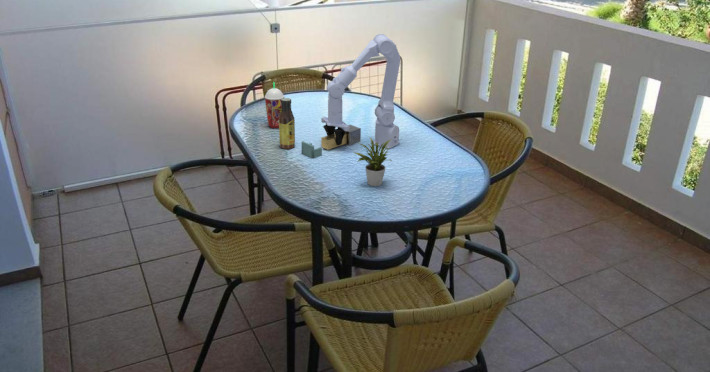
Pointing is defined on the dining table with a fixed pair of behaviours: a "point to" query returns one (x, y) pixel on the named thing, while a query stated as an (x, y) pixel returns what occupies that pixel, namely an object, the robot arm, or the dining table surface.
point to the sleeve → (354, 135)
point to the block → (332, 141)
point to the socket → (310, 150)
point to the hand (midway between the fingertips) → (335, 143)
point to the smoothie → (273, 106)
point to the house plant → (374, 163)
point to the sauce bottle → (286, 125)
